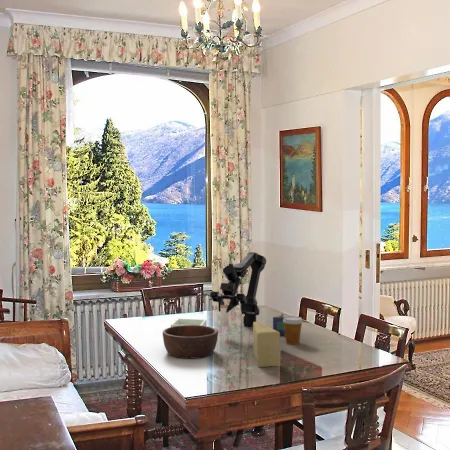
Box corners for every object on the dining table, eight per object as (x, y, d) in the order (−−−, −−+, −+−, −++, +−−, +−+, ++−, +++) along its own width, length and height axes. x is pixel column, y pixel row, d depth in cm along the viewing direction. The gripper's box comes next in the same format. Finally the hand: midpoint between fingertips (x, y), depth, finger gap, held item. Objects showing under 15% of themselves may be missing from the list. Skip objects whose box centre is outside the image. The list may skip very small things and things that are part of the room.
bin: (206, 326, 338) (206, 319, 338) (201, 333, 322) (201, 325, 322) (177, 325, 340) (177, 318, 340) (170, 332, 324) (170, 324, 324)
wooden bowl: (175, 363, 267) (175, 339, 267) (154, 350, 289) (154, 328, 289) (227, 356, 279) (227, 333, 278) (203, 344, 301) (203, 322, 300)
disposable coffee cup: (305, 341, 306) (305, 317, 305) (298, 346, 297) (299, 320, 296) (286, 339, 310) (286, 315, 309) (279, 343, 301) (280, 319, 300)
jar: (228, 324, 315) (228, 304, 314) (227, 326, 311) (227, 306, 310) (221, 324, 315) (221, 304, 314) (219, 325, 311) (219, 305, 310)
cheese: (244, 354, 283) (244, 321, 282) (265, 353, 285) (265, 320, 284) (257, 367, 261) (258, 332, 260) (280, 366, 263) (280, 331, 262)
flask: (290, 333, 322) (290, 313, 322) (291, 335, 319) (291, 314, 319) (272, 333, 323) (272, 312, 322) (273, 334, 320) (273, 314, 319)
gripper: (211, 275, 319) (201, 300, 310) (244, 277, 311) (235, 303, 302) (218, 288, 327) (208, 313, 317) (251, 291, 318) (242, 316, 309)
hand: (223, 311), depth 311 cm, fingers closed on jar, 4 cm apart
